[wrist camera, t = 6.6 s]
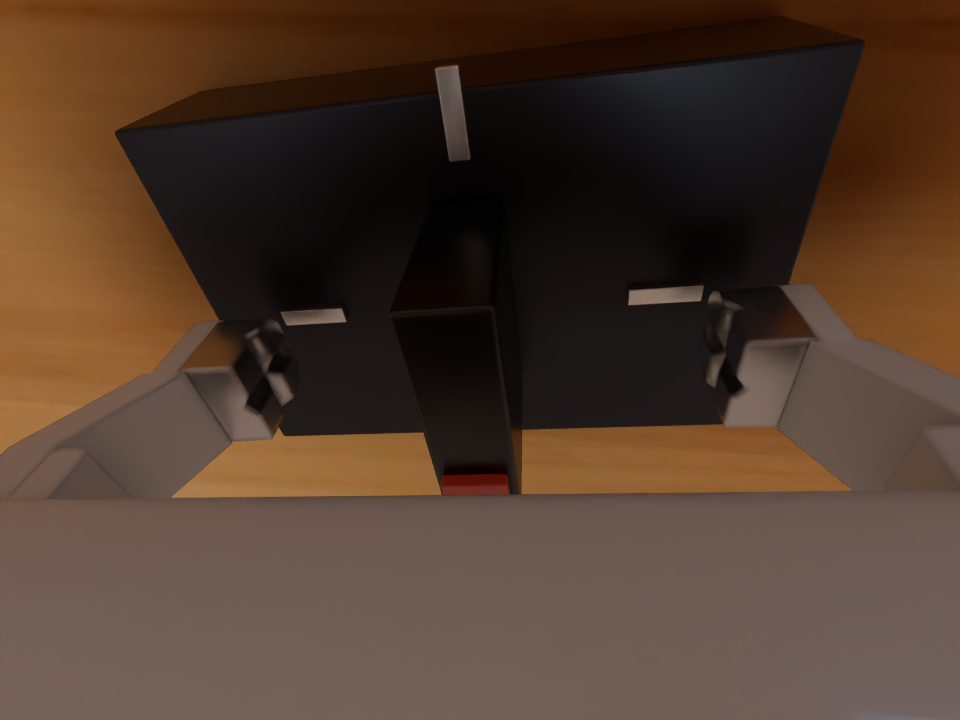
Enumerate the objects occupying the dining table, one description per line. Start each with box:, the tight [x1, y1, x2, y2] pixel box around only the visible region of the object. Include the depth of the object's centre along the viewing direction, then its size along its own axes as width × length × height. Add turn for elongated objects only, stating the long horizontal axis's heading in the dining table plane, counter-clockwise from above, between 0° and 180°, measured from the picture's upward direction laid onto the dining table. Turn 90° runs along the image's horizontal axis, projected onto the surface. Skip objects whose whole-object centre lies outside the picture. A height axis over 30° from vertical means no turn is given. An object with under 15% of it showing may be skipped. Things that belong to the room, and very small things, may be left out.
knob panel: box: [115, 16, 865, 436], centre depth 11 cm, size 12×9×3 cm
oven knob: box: [389, 198, 523, 495], centre depth 9 cm, size 4×1×4 cm, turn 7°
